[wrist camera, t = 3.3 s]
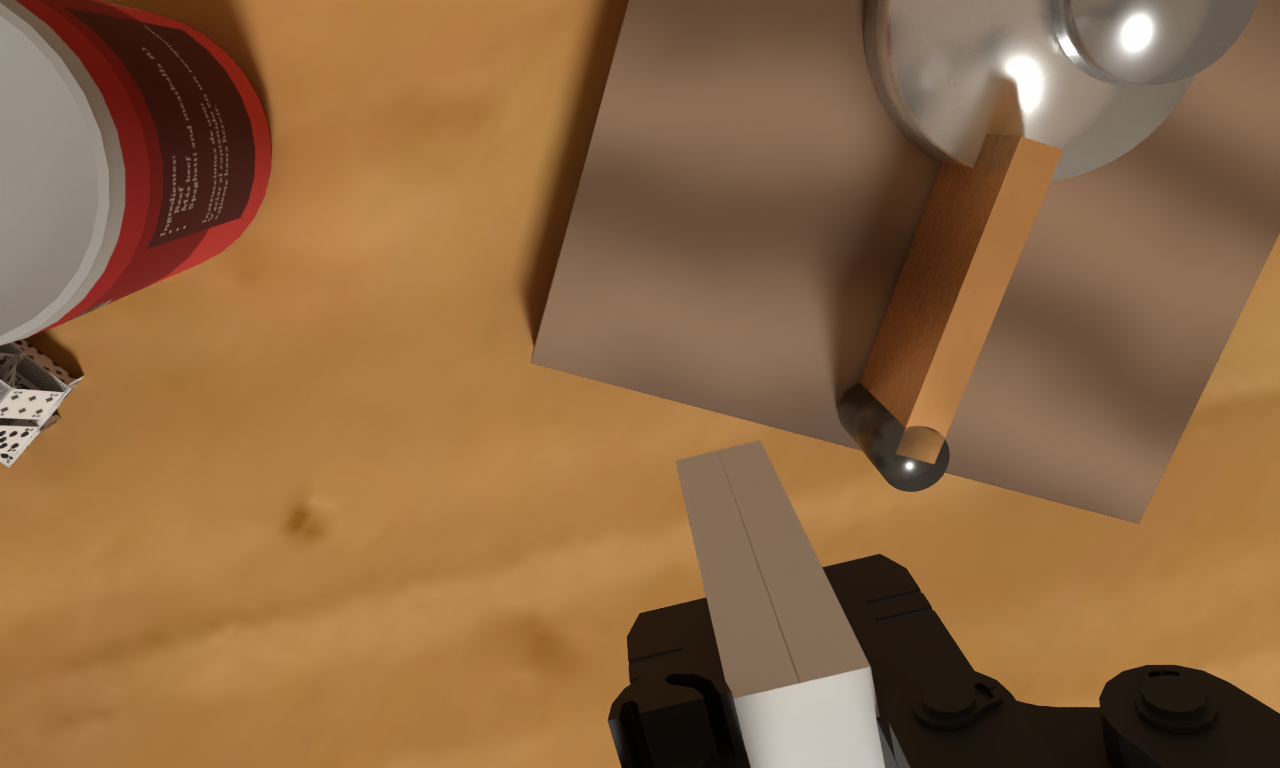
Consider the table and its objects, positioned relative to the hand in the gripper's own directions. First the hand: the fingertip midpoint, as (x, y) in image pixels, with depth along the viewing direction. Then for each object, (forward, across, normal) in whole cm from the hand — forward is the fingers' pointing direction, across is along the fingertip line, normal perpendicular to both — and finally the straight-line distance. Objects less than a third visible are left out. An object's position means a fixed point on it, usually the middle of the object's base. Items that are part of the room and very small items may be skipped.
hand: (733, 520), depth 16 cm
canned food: (+16, -14, +9) cm, 23 cm away
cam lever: (+14, +12, +7) cm, 20 cm away
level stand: (+16, +11, +5) cm, 20 cm away
